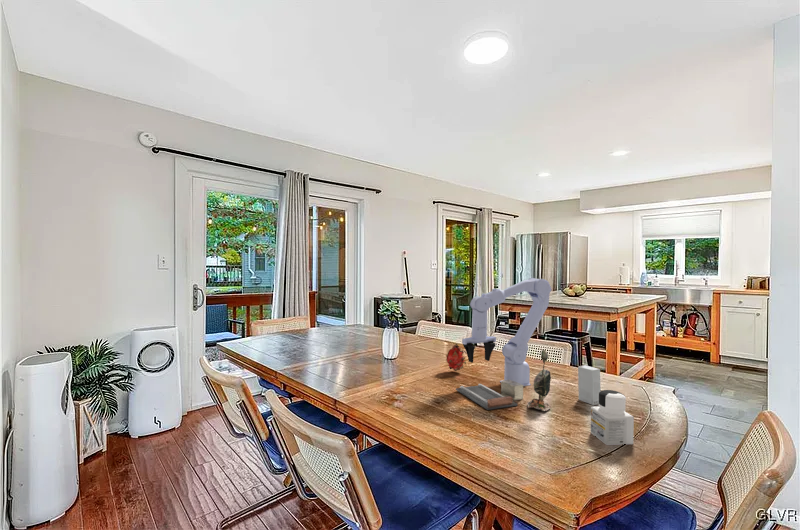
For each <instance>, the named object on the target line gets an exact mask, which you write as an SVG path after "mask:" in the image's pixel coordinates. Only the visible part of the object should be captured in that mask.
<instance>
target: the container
mask: <svg viewBox="0 0 800 530" xmlns="http://www.w3.org/2000/svg"><path fill="white" fill-rule="evenodd" d="M626 403H627V402H626V396H625V394H624V393H622V392H620V391H617V390H612V389H604V390H601V391H600V392H599V404H598V406H591V407H590V434H591V435H593V436H594V437H595V436H596V437H595V438H596V439H598V440H599V441H600V442H602V443H603V444H605V445H606V446H624V444H626V445H634V431H635V430H634V423H635V422H634V421H635V418H634V416H633V415H631V414H630V413H628V412H626V405H627V404H626ZM622 444H623V445H622Z"/></svg>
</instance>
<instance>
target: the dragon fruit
mask: <svg viewBox="0 0 800 530" xmlns="http://www.w3.org/2000/svg"><path fill="white" fill-rule="evenodd" d="M464 353H465V354H467V352H466V350H461V347H460V346H459V344H457V343H456V344H455V345H453V346H452V347H451V349H449V350H448V352H447V354H446V356H445V357H446V360H445V361H446V363H447V364H448V369H449V370H452V369H453V371H454V372H457V371H461V369H463V368H464V365H466V364H467V362H466V360H465V358H466V357H465V356H463V354H464Z"/></svg>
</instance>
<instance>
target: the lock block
mask: <svg viewBox="0 0 800 530" xmlns="http://www.w3.org/2000/svg"><path fill="white" fill-rule="evenodd" d="M500 381H501V380H500ZM500 387H501V388H500V394H501V395H503V396H504V397H507V396H510V397H512V398H513V402H515V401H519V400H524V386H523V385H522V384H520V383H517V382H514V381H512V380H504V381H501V382H500Z"/></svg>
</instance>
